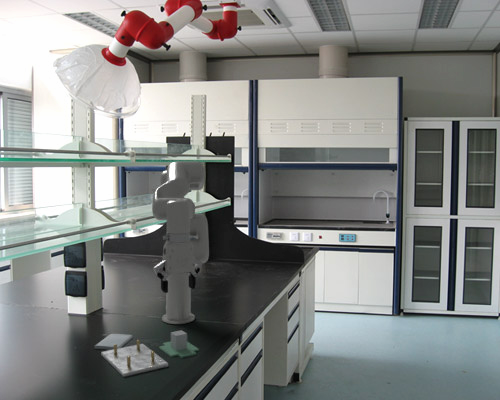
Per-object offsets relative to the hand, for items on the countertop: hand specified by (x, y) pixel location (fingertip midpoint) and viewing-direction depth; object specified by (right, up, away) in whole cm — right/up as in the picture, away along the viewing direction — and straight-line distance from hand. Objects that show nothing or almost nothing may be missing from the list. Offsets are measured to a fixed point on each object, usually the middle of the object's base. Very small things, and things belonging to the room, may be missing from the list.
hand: (178, 290), depth 170 cm
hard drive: (-23, -20, +7) cm, 32 cm away
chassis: (-13, -21, -8) cm, 26 cm away
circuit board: (0, -20, +2) cm, 20 cm away
